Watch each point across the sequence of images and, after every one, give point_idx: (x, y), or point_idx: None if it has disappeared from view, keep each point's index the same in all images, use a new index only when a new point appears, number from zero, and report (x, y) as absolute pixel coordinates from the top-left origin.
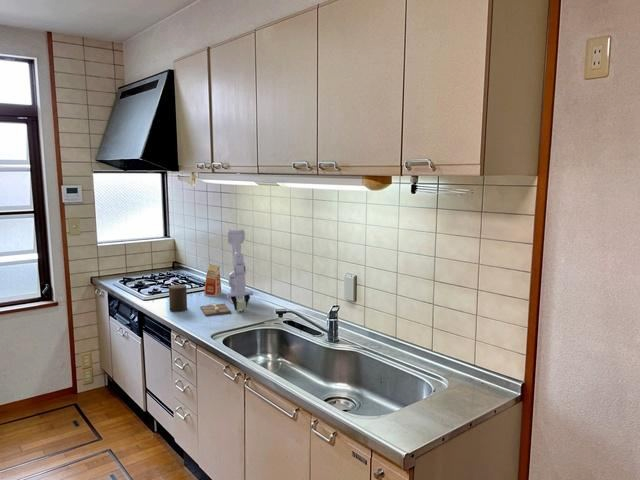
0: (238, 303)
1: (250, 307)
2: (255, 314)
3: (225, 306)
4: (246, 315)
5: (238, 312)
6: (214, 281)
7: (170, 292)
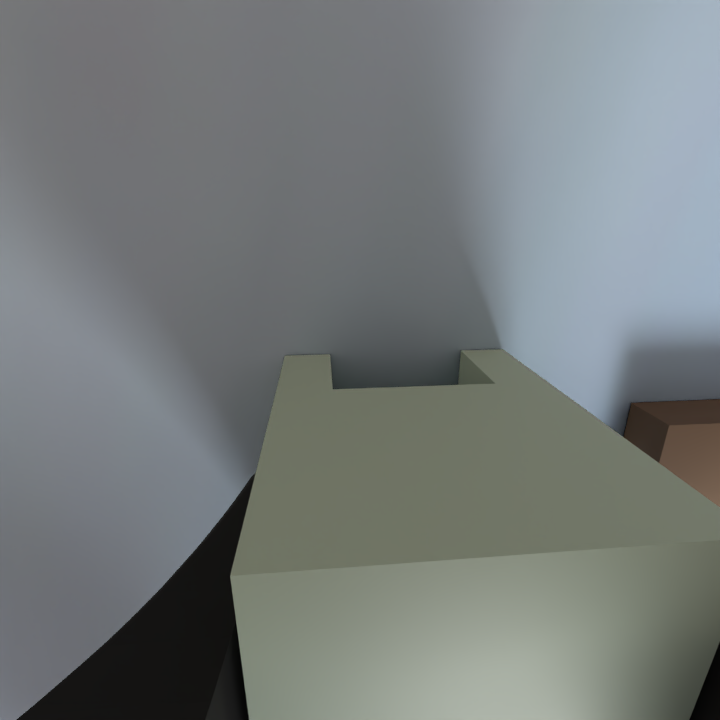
0: (656, 513)
1: None
2: (39, 26)
3: None
4: (340, 49)
5: (485, 353)
6: None
7: None
